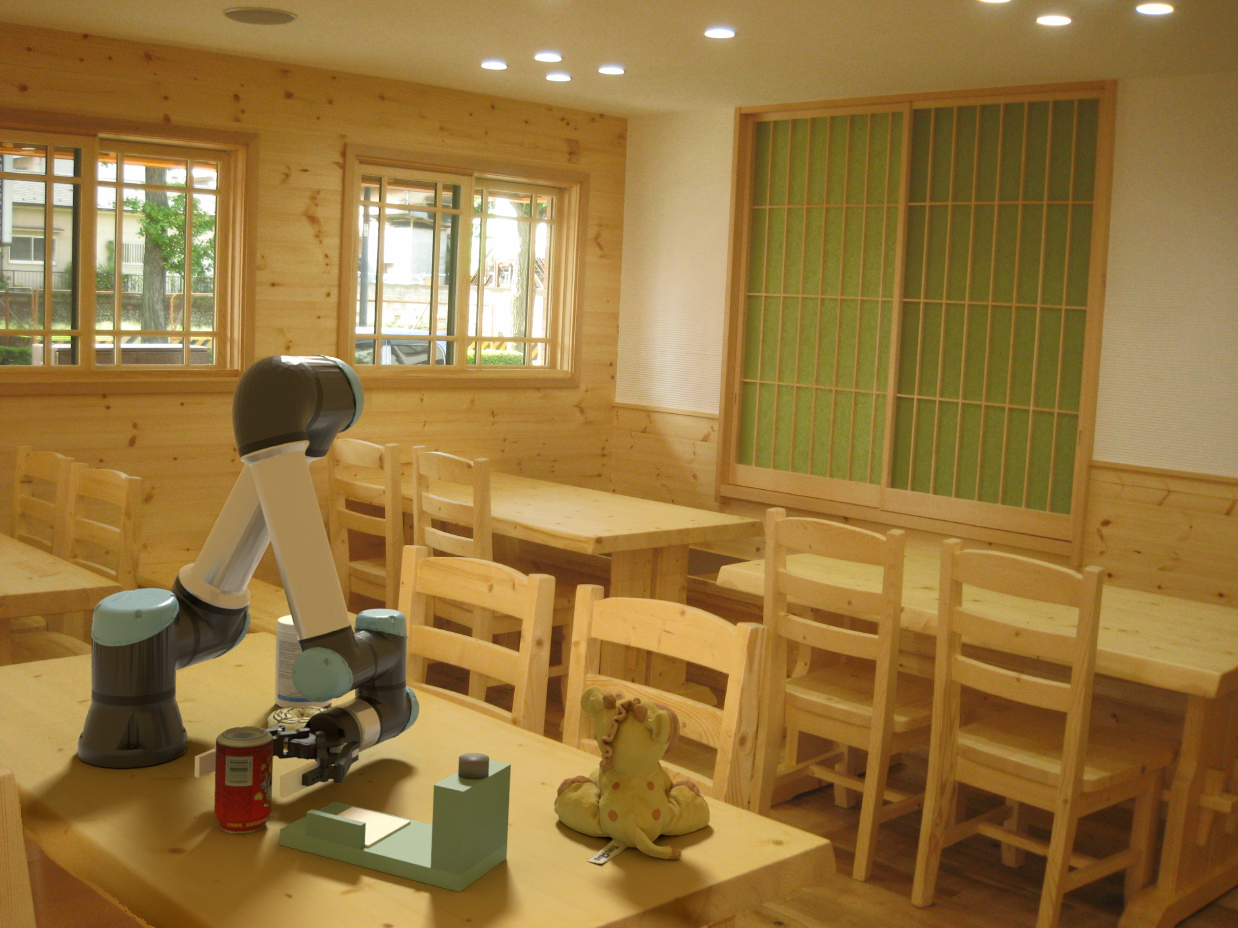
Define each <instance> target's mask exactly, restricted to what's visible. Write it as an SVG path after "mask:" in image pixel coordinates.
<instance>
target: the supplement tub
mask: <svg viewBox="0 0 1238 928" xmlns="http://www.w3.org/2000/svg"><path fill="white" fill-rule="evenodd" d="M300 654H301V650H300V646H299V642H298V638H297V635H296V631H295V627H294V624H293V620H292V616H291V614H288V615H284V616H281V617H279V618H278V619H277V624H276V631H275V682H274V683H275V687H274V689H275V690H274V692H275V693H274V694H275V698H274V700H275V703H276V705H277V706H279V707H280V708H281V709H282V708H284V707H289V706H317V707H321V708H326V707H327V706H329V705H330V704H331V703H332V701H333V699H331V700H328V701H326V702H313V701H309V700H307V699H306V698H304V697H303V696H302V695H300V693H299V692H298V691H297V690H296V688H295V686H294V684H293V681H292V669H293V664H294V661H295V660H296V658H297V657H298V656H299V655H300Z"/></svg>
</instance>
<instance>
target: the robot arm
mask: <svg viewBox="0 0 1238 928" xmlns="http://www.w3.org/2000/svg"><path fill="white" fill-rule="evenodd" d="M364 405H365V392H364V389H363V386H362V381H361V379H360V377H359V376H358V373H356V371H355V370H354V369H353V368H352V367H351V366H350V365H349V364H347V363H346V362H345V361H343V360H341V359H339V358H336V357H332V356H326V355H324V354H313V355H308V356H307V355H286V354H285V355H284V354H275V355H269V356H264V357H263V358H260V359H259V360H256V361H255V362H253V363H252V364H251V365H249V366H248V368H246V370H245V371H244V372H242V374H241V376H240V378H239V380H238V382H237V383H236V386H235V388H234V393H233V397H232V407H231V416H232V418H231V419H232V420H231V421H232V428H233V434H234V440H235V444H236V448H237V451H238V455H239V460H240V462H243V463H244V465H243V467H242V469H241V471H240V473H239V475H238V477H237V478H236V479H237V480H236V481H235V483H234V485H233V487H232V488H231V491H230V493H229V494H228V497H227V499H226V501H225V503H224V505H223V507H222V508H221V511H220V513H219V515H218V517H217V519H216V520H215V523H214V525H213V527H212V529H211V531H210V532H209V535H208V536H207V538H206V541H205V542H204V544H203V547H202V549H201V550H200V552H199V554H198V556H197V558H196V560H195V562H192V563H189V564H185V565H184V566H182V567H181V568H180V570H179V572H178V573H177V575H176V577H175V579H174V581H173V583H172V585H171V586H170V587H171V588H170V589H169V590H167V589H164V588H157V587H150V588H149V587H146V588H136V589H134V590H131V589H130V590H127V589H126V590H122V591H120V592H116V593H113V594H111V595H108V596H105V598H104V597H103V599H101V600H100V601H99V602H97V604H96V605H95V607H94V609H93V612H92V613H93V614H92V625H91V626H90V636H91V697H90V699H91V700H90V701H91V702H90V706H89V709H88V713H87V715H86V717H85V721H84V726H83V730H82V731H81V733H80V734H79V737H78V739H77V757H78V758H79V759H80V760H81V761H82V762H84V763H86V764H89V765H92V766H96V767H102V768H103V767H104V768H111V769H115V768H117V769H119V768H121V769H123V768H124V769H126V768H142V767H148V766H149V767H150V766H153V765H159V764H163V763H166V762H170V761H173V760H175V759H178V758H179V757H181V756H182V755H183V754H185V753H186V752H187V750H188V732H187V729H186V728H185V726H184V724H183V718H182V715H181V710H180V707H179V705H178V701H177V698H176V697H177V695H176V693H177V692H176V691H177V689H176V686H177V671H180V670H181V669H184V668H188V667H191V666H194V665H198V664H200V663H204V662H206V661H210V660H213V659H217V658H220V657H222V656H224V655H225V654H227V653H229V652H230V651H231V650H233V649H235V648H236V647H237V646H238V645H239V644H241V642H243V640H244V638H245V637H246V635H247V632H248V631H249V628H250V624H251V617H252V616H251V614H250V613H249V609H251V608H250V601H251V598H252V596H251V592H250V590H249V588H248V584H249V583H250V581H251V580H252V577H253V575H254V573H255V571H256V569H257V567H258V565H259V563H260V561H261V559H262V558H263V556H264V554H265V551H266V550H267V548H268V547H269V544H270V543H271V546H272V551H273V555H274V559H275V561H276V565H277V568H278V573H279V576H280V579H281V584H282V586H283V591H284V594H285V598H286V601H287V606H288V608H289V612H290V613H289V614H290V615H291V616H292V620H293V624H294V627H295V631H296V635H297V638H298V642H299V646H300V650H301V654H300V655H299V656H298V657H297V658H296V660H295V661H294V664H293V669H292V681H293V684H294V686H295V688H296V690H297V691H298V692H299V693H300V695H302V696H303V697H304V698H306V699H307V700H309V701H313V702H326V701H328V700H331V699H332V700H333V699H340V698H342V697H343V696H345V695H346V694H348V693H350V692H352V691H354V698H352V699H348V700H346V701H343V702H342V703H339V704H336V705H334V706H332V707H330V708H326V709H327V710H324V711H322V712H319V713H317V714H315V715H313V716H312V717H311V718H310V719H309V720H308V722H307V723H306V725H305V726H304V728H299V729H297V730H295V731H285V726H284V725H279V726H275V727H272V728H269V729H268V728H265V729H266V731H268V732H269V733H271V735H272V736H273V757H277V758H278V759H280V760H284V759H292V758H295V759H296V758H297V759H302V760H308V761H309V760H312V761H310V762H308V763H305V764H303V765H301V766H299V767H297V768H294V769H292V770H290V771H288V772H286V773H284V774H281V775H280V776H279V798H283V799H286V798H288V797H290V796H292V795H294V794H296V793H298V792H301V791H302V790H305V789H306V788H308V787H311V786H314V785H316V784H318V783H327V782H330V781H329V780H333V783H334V784H340V785H341V784H342V783H344V781H345V779H346V776H347V774H348V773H349V771H350V769H351V766H352V764H354V763H356V762H358V761H359V760H360V759H359V757H360V756H359V755H360V753H361V752H363V751H366V750H368V749H370V748H372V747H375V746H378V745H379V744H381V743H383V742H386V741H387V740H390V739H394V738H396V737H399V735H402V734H403V733H404V732H406V731H407V730H409V729H410V728H411V727H413V725H414V724H415V723H416V722H417V720H418V717H419V714H420V703H419V701H418V700H419V699H417V695H416V693H415V691H414V690H413V689H412V688H411V687H410V686H409V685H407V655H408V652H407V651H408V648H407V647H408V639H409V637H408V635H407V634H408V633H407V632H408V631H407V618H406V616H405V614H404V612H401V611H399V610H396V609H392V608H391V609H390V608H389V609H388V608H369V609H365V610H362V611H360V612H359V613H357V615H356V617H355V623H354V627H352V624H351V623H352V622H351V619H350V615H349V612H348V609H347V605H346V601H345V598H344V593H343V590H342V586H341V583H340V579H339V575H338V572H337V568H336V565H335V559H334V557H333V553H332V550H331V545H330V542H329V538H328V534H327V531H326V527H325V523H324V519H323V516H322V511H321V509H320V504H319V502H318V497H317V494H316V490H315V487H314V482H313V479H312V474H311V471H310V468H309V467H310V464H312V462H314V461H318V460H322V459H324V458H326V456H327V455H328V453H329V451H330V449H331V447H332V445H333V443H334V441H335V439H336V438H337V436H338V434H340V433H344V432H346V431H348V430H349V429H351V428H352V427H354V426H355V425H356V424H357V422H358V421H359V419H360V417H362V416H361V415H362V414H363V410H364ZM353 630H354V631H353ZM286 743H287V746H286V747H287V751H284V748H285V747H284V745H285V744H286ZM215 756H216V747H215V748H212V749H210V750H207V751H205V752H202V753H200V754H198V755H197V754H196V755H195V756H194V778H195V777H196V778H203V777H204V776H207V775H209V774H211V773H213V772H214V773H215V760H216V758H215Z"/></svg>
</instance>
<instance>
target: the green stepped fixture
mask: <svg viewBox="0 0 1238 928" xmlns="http://www.w3.org/2000/svg"><path fill="white" fill-rule="evenodd" d="M511 765H512V764H511V763H507V762H501V761H498V760H497V761H496V760H493V759H492V760H491V759H490V756H488V755H487V754H483V753H479V752H469V753H464V754H461V755H459V756H458V770H457V772H454V773H453V774H451V775H449V776H448V777H446V778H443V779H442V780H440V781H438V782H436V783H434V784H433V794H432V795H433V796H432V797H433V799H432V800H433V803H432V824H429V823H427V822H423V821H422V822H421V821H418V820H415V819H414V820H413V819H410V818H406V817H401V816H397V815H392V814H389V813H385V812H380V811H377V810H372V809H368V808H364V807H360V806H356V805H352V804H347V803H345V802H339V801H333V802H331V803H329V804H327V805H325V806H322V807H321V808H319V809H318V810H316V809H310V810H309V811H306V816H302V817H301V818H299V819H297V820H296V821H293V822H291V823H289V824H287V825H285V826H284V827H281V828H280V829H279V845H281V846H282V847H283V846H284V847H288V848H292V849H294V850H299V851H303V852H306V853H309V854H310V853H311V854H314V855H318V856H321V857H325V858H329V859H334V860H337V861H340V862H344V863H346V864H347V863H348V864H352V865H355V866H360V867H363V868H367V869H371V870H375V871H376V872H377V871H378V872H382V873H386V874H389V875H393V876H396V877H397V876H398V877H401V878H405V879H408V880H412V881H416V882H419V883H424V884H427V885H430V886H435V887H438V888H442V889H445V890H450V891H454V892H457V893H460V892H462V891H463V890H464V889H466V888H467V887H469V886H470V885H472V884H473V883H474V882H476V881H478V880H479V879H480V878H481V877H483V876H485V874H487V873H488V872H490V871H491V870H493V869H494V868H496V867H497V866H498V865H500V864H501V863H503V862H504V861H505V860H507V858H508V857H507V855H508V854H507V853H508V834H509V833H508V831H509V817H510V816H509V813H510V812H509V810H510V792H511V791H510V788H511V771H512V770H511V769H512V768H511V767H512V766H511Z"/></svg>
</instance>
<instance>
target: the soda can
mask: <svg viewBox="0 0 1238 928" xmlns="http://www.w3.org/2000/svg"><path fill="white" fill-rule="evenodd" d="M266 729H267V728H264V727H263V728H262V727H258V726H253V725H252V726H251V725H250V726H249V725H248V726H247V725H245V726H235V727H230V728H228V729H226V730H224V731H223V732H221V733H219V735H218V736H217V738H215V748H216V756H215V758H216V760H215V771H214V807H213V808H214V809H213V810H214V811H213V813H214V816H215V818H216V821H218V823H219V824H218V825H219V828H220V830H222V832H225V833H229V834H250V833H253V832H256V831H259V830H262V829H263V828H264V827H266V825H267V824H266V823H267V820H268V818H269V817H270V815H271V812H272V805H273V803H272V802H273V801H272V799H273V794H272V793H273V767H274V764H273V762H274V756H273V736H272V735H271V733H269V732H268V731H266Z"/></svg>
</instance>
